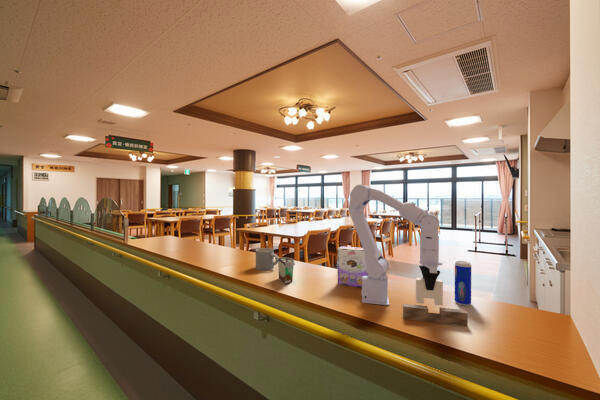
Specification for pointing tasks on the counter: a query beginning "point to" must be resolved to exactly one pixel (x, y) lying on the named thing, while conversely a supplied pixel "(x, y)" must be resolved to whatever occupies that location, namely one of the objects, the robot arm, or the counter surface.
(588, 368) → the counter surface
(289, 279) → the food container
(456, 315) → the walnut slotted plate
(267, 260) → the coffee mug
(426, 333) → the counter surface
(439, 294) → the cream rectangular block
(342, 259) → the candy box
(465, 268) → the beverage can
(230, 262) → the counter surface
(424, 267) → the robot arm
